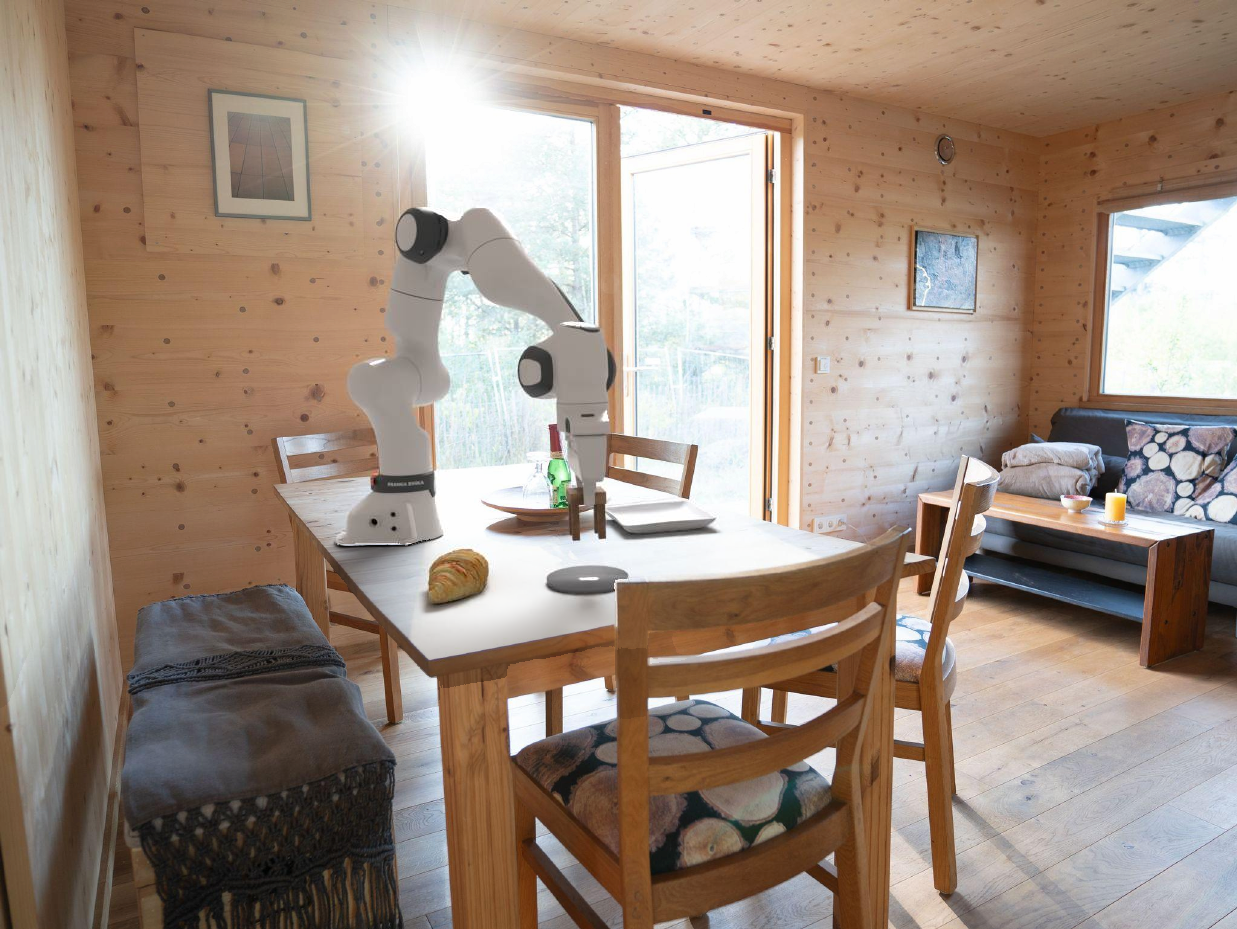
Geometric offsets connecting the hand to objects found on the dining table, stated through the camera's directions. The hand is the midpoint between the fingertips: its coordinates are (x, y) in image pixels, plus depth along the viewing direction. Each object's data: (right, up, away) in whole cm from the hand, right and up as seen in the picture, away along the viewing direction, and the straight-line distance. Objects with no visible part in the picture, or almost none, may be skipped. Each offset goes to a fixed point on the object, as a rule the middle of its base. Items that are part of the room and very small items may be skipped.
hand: (585, 501), depth 137 cm
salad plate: (+14, -8, +47) cm, 50 cm away
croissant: (-22, -15, 0) cm, 26 cm away
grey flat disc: (0, -14, +2) cm, 14 cm away
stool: (0, -6, +1) cm, 6 cm away
